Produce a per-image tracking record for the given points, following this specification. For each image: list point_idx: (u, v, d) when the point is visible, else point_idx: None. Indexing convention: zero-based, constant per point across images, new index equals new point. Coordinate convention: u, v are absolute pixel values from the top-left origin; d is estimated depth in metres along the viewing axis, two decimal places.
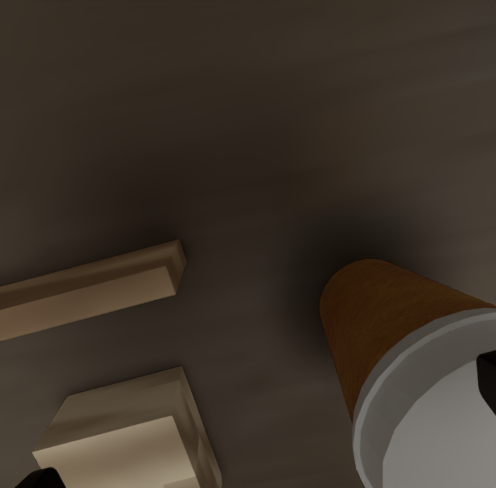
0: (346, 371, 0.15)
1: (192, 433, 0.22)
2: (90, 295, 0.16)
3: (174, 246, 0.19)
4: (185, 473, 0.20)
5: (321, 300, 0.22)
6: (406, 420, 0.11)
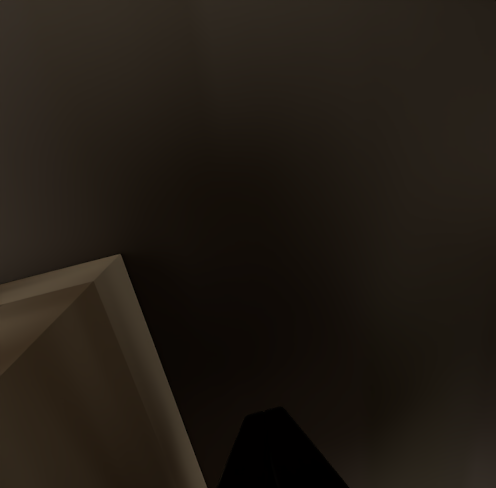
0: None
1: None
2: None
3: None
4: None
5: None
6: None
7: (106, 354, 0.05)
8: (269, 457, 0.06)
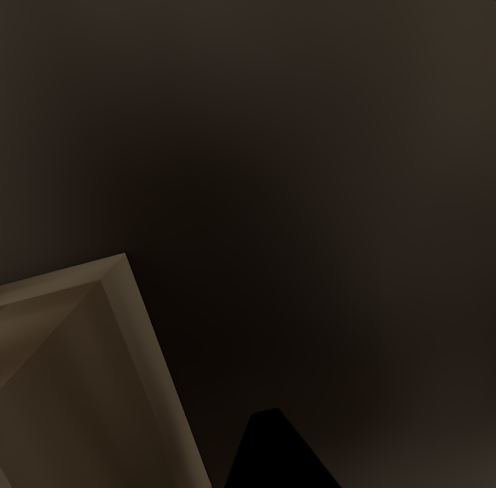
0: None
1: None
2: None
3: None
4: None
5: None
6: None
7: (114, 352, 0.05)
8: (276, 455, 0.06)
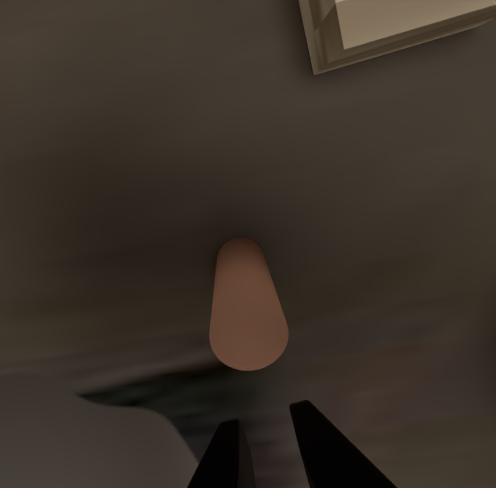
0: None
1: None
2: None
3: None
4: None
5: None
6: None
7: (483, 18, 0.15)
8: (237, 465, 0.06)
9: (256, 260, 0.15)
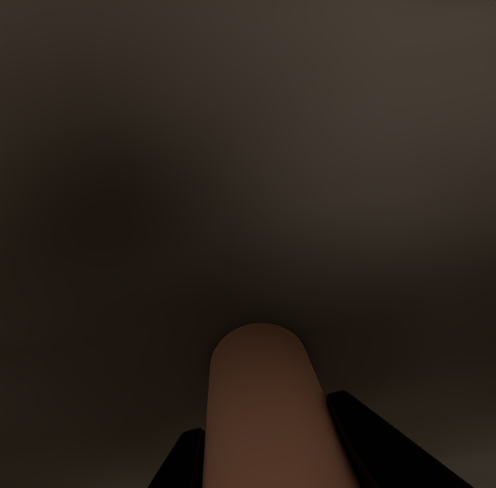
0: None
1: None
2: None
3: None
4: None
5: None
6: None
7: None
8: (191, 477, 0.06)
9: (321, 444, 0.05)
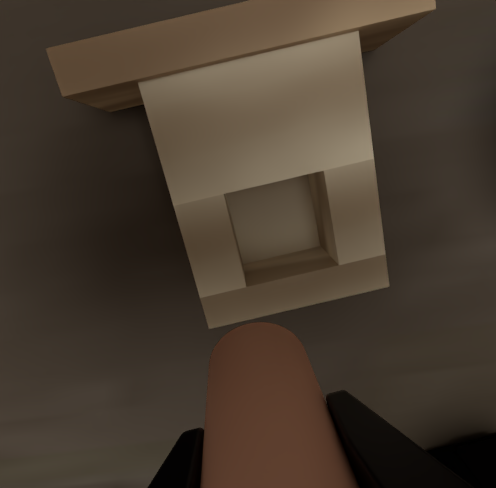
0: None
1: None
2: None
3: None
4: (359, 151, 0.13)
5: None
6: None
7: None
8: (191, 477, 0.06)
9: (320, 443, 0.05)
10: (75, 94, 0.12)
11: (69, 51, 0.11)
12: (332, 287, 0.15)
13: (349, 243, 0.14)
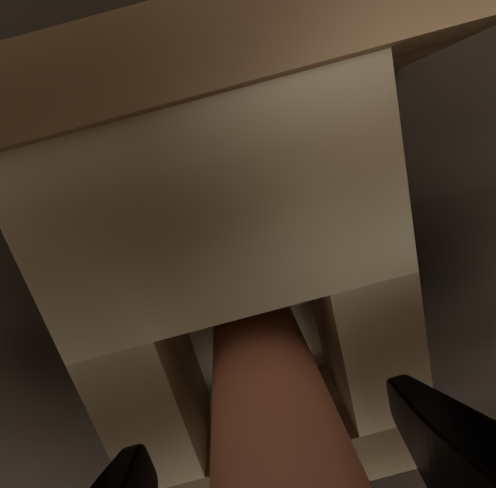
0: None
1: None
2: None
3: None
4: (394, 261, 0.07)
5: None
6: None
7: None
8: None
9: (301, 363, 0.07)
10: None
11: None
12: None
13: (377, 404, 0.08)
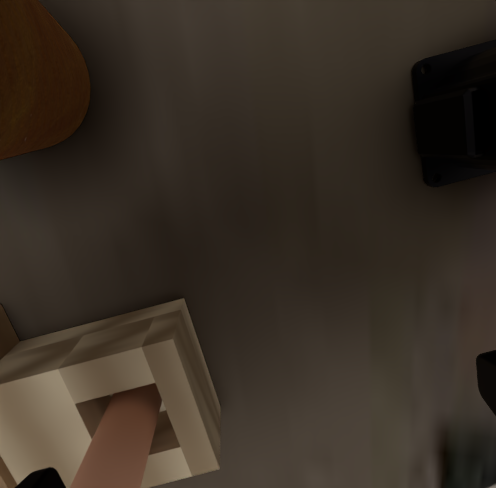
0: None
1: (52, 352, 0.18)
2: None
3: None
4: (54, 380, 0.16)
5: None
6: None
7: (185, 331, 0.19)
8: None
9: (99, 424, 0.16)
10: None
11: None
12: (176, 385, 0.17)
13: (134, 377, 0.16)
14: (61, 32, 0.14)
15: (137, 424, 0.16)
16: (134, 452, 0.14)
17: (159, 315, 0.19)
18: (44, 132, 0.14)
